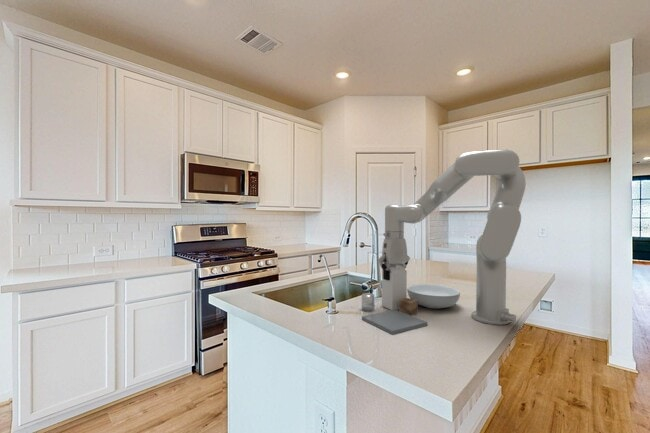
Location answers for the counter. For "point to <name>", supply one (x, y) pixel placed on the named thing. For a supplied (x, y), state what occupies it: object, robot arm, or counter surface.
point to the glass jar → (368, 302)
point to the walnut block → (408, 306)
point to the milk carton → (394, 287)
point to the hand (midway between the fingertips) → (394, 278)
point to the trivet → (394, 321)
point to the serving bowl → (433, 295)
